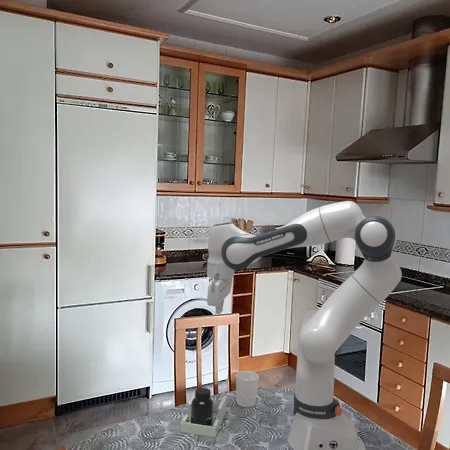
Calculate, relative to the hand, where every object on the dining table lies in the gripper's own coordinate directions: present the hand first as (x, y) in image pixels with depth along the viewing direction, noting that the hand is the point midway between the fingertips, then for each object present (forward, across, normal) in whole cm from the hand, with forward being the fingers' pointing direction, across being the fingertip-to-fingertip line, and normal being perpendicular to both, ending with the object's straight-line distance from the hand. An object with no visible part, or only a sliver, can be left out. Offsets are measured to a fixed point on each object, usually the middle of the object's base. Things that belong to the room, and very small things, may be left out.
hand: (219, 312), depth 144 cm
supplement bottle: (+34, -11, +2) cm, 36 cm away
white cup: (+34, +9, -9) cm, 37 cm away
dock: (+34, -12, +2) cm, 36 cm away
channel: (+34, -4, +2) cm, 34 cm away
